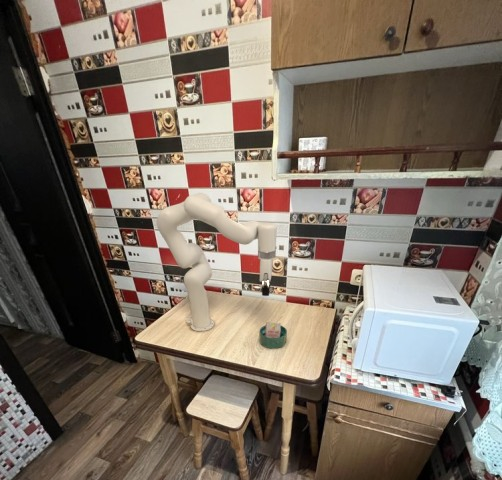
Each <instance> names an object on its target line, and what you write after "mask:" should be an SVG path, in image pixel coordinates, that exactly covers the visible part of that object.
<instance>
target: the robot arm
mask: <svg viewBox="0 0 502 480" xmlns="http://www.w3.org/2000/svg"><path fill="white" fill-rule="evenodd" d="M195 219H196V220H198V221H200V222H203V223H205V224H207V225H209V226H211V227H213V228H215V229H216V230H217V231H218V233H220V234H221V235H222V236H223V237H224V238H227V239H228V240H230V241H232V242H235V243H237V244H239V245H243V246H244V245H249V244H251V243H252V242H253V241H255V240H257V258H258V259H259V282H260V283H262V286H261V296H263V297H269V296H270V287H271V282H272V274H273V263H274V262H273V261H274V260H275V259H276V256H277V255H276V254H277V224H276V223H275V222H274V223H273V222H268V221H267V222H261V221H257V220H248V221H246V222H244V223H243V224H242V223H240V222H238V221H235V220H233V219H231V218H230V217H229V216H228V215H227V214H226V210H225V208H224V207H223V206H220V205H218V204H217V203H214V202H212V199H211V198H210V196H209V195H207V193H204V192H198V193H193V194H191V195H188V196H187V197H186V198H185V199H184V201H182V202H180V203H177V204H174V205H170V206H167V207H164V208H163V209H161V211H160V212H159V213H158V214H157V217H156V226H157V229H158V231H159V234H160V235H161V237H162V238H163V239H164V241H165V243H166V245H167V247H168V249H169V251H170V253H171V254H172V257H173V258H174V260H175V262H176V264H177V265H178V267H180V268H182V269H188V268H190V267H192V268H190V269H189V270H188V271H187V272H186V273H185V274H184V276H183V283H184V287H185V289H186V293H187V297H188V302H189V307H190V313H191V317H185V318H184V321H185V323H186V324H190V329H191V330H193V331H196V332H206V331H209V330H211V329H213V327H214V326H215V322H214V320H213V319H212V318H211V313H210V305H209V297H208V292H207V290H206V288H205V285H206V283H207V282H208V281H210V279H211V278H212V277H213V270H212V267H211V265H210V262H209V261H208V258H207V257H206V254H205V253H204V251H203V249H202V248H201V246H200V245H199V244H197V243H195V242H187V240H186V238H185V236H184V234H183V233H182V232H181V231H180V230H179V229H178V227H179V226H182V225H185V224H187V223H189V222H191V221H193V220H195Z"/></svg>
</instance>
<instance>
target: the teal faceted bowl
mask: <svg viewBox="0 0 502 480" xmlns="http://www.w3.org/2000/svg"><path fill="white" fill-rule="evenodd" d="M280 326H281V335H280V337H279V338H268V337H266V324H265V325H263V326H261V327H260V328H259V332H258V333H259V335H258V337H259V339H258V340H259V343H260V345H261V346H262V347H265V348H267V349H280V348H283V347H284V346H285V345H286V344H287V341H288V339H287V337H288V330H287V328H286V327H285V326H284V325H281V324H280Z"/></svg>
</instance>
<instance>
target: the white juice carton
mask: <svg viewBox="0 0 502 480" xmlns="http://www.w3.org/2000/svg"><path fill="white" fill-rule="evenodd" d="M265 325H266V337H268V338H279V337H280V335H281V326H282V325H281V323H279V322H267V321H265ZM280 325H281V326H280Z"/></svg>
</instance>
